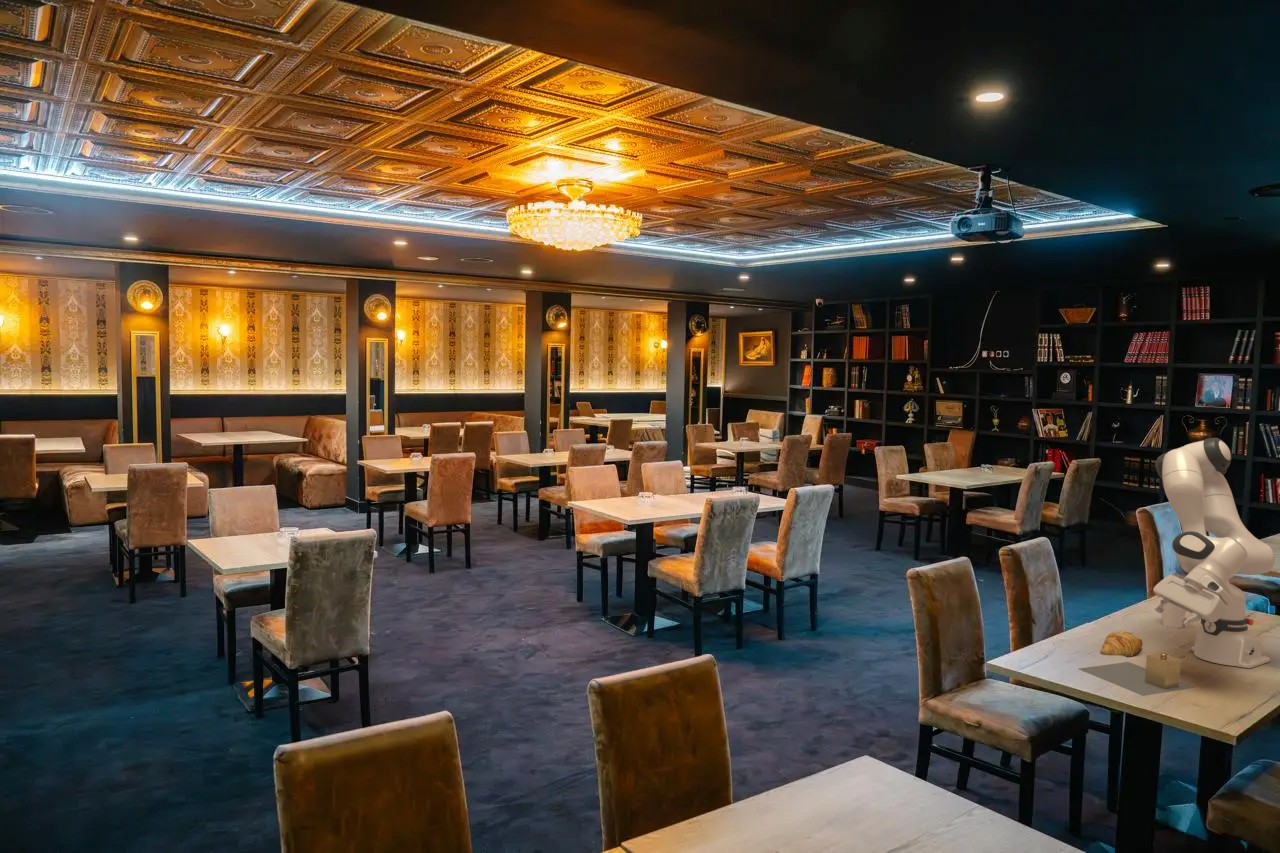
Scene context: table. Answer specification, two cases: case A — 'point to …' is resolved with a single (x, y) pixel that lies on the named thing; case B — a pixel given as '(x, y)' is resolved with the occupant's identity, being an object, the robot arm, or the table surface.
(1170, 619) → the foam cup
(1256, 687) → the table surface
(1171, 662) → the brass knob block
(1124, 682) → the charcoal mat
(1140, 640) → the croissant
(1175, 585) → the robot arm
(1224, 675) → the table surface
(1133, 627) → the table surface
